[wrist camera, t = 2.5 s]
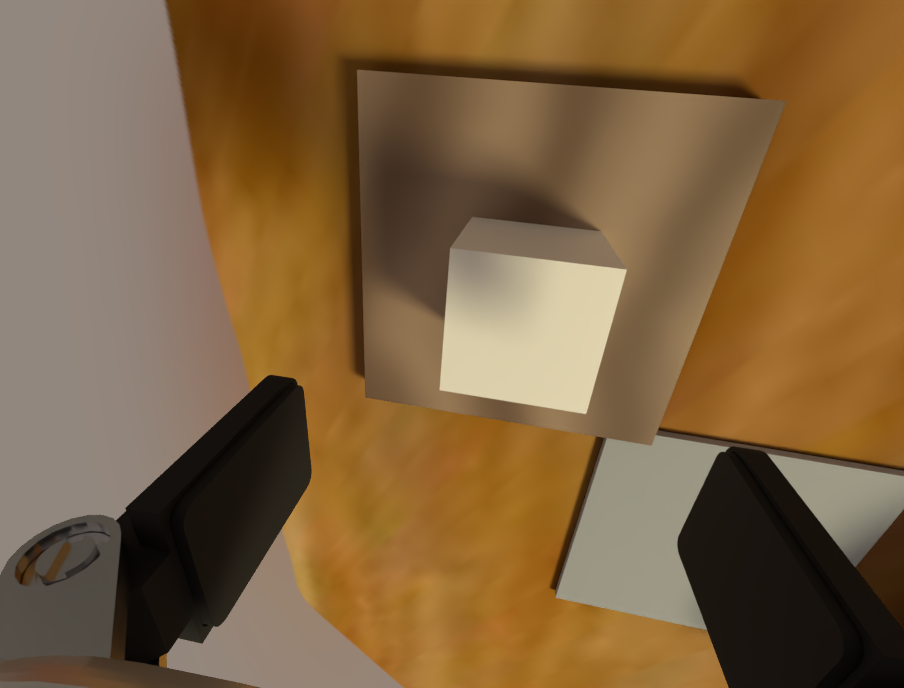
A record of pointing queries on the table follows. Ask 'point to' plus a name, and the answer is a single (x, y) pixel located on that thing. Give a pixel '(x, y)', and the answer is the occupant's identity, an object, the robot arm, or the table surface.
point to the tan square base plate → (550, 221)
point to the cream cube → (528, 312)
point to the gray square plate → (668, 505)
